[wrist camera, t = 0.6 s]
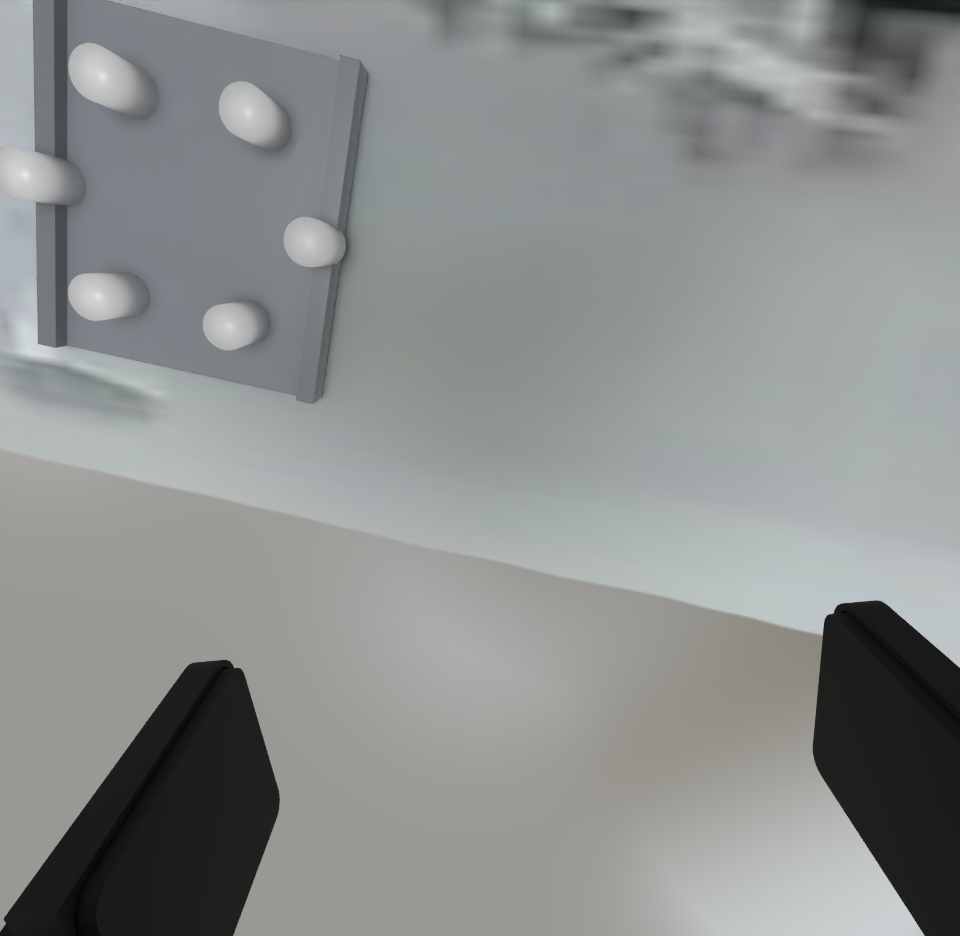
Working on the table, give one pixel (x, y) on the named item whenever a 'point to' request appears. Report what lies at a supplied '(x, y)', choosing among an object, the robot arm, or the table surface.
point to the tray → (187, 193)
